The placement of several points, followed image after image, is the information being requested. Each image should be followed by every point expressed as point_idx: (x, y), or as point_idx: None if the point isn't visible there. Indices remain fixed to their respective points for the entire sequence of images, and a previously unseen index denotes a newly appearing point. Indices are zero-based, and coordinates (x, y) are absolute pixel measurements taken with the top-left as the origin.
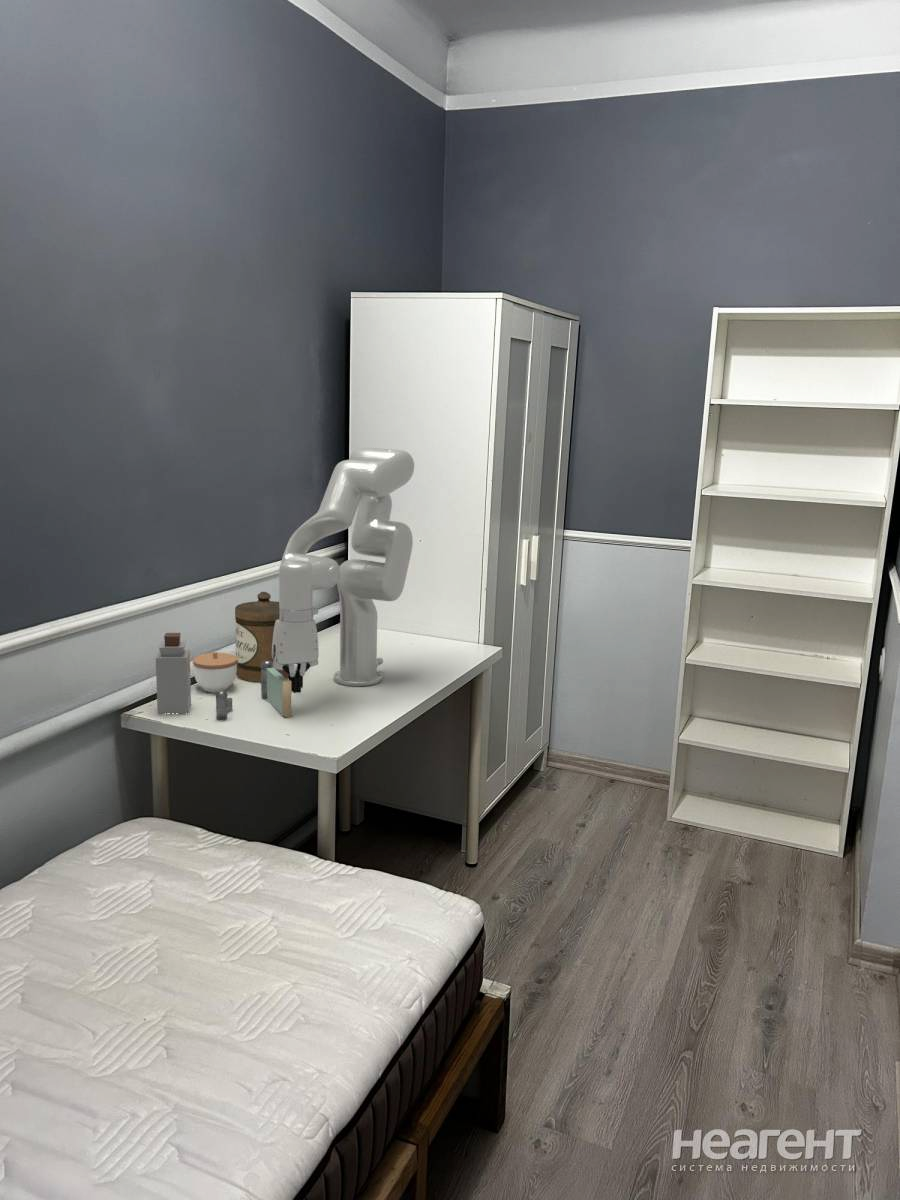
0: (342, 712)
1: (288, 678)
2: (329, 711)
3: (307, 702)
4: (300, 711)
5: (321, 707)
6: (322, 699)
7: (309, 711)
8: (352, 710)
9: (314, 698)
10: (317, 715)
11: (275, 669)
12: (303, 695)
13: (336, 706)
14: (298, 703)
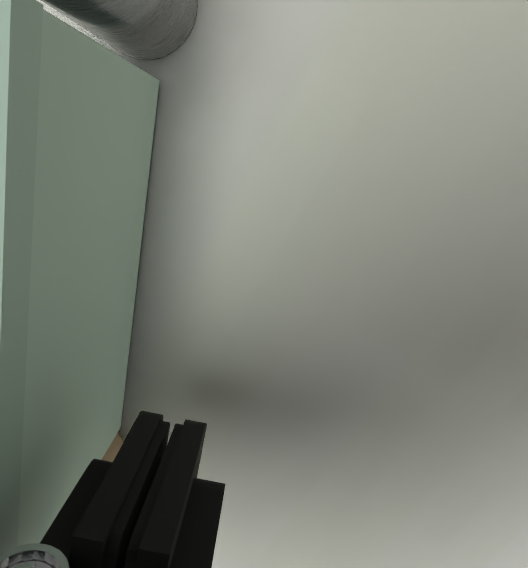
0: (428, 549)
1: (53, 521)
2: (374, 498)
3: (356, 282)
4: (219, 407)
5: (377, 417)
6: (487, 285)
7: (269, 436)
8: (500, 554)
9: (453, 232)
10: (273, 514)
11: (3, 117)
12: (427, 117)
13: (469, 452)
14: (289, 265)
